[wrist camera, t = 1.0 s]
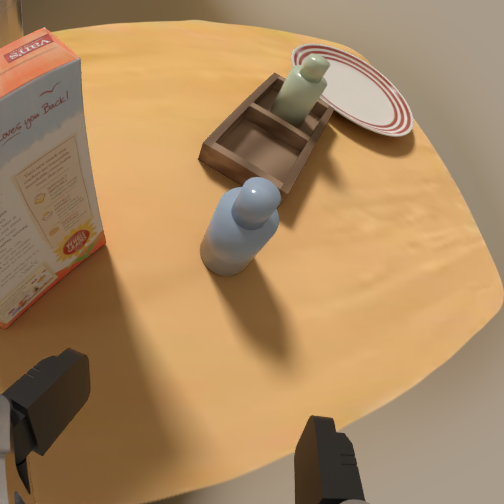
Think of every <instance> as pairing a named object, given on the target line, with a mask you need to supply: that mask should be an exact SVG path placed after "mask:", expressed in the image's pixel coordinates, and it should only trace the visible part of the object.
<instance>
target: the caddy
mask: <svg viewBox="0 0 504 504" xmlns="http://www.w3.org/2000/svg"><path fill="white" fill-rule="evenodd" d="M285 80H286V79H285V78H283V77H281V76H280V75H278V74H276V73H274V74H273V75H271V76H270V77H269V78H268V79H267V80H266V81H265V82H264V83H263V84H262V85H261V86H259V87H258V88H257V89H256V90H255V91H254V92H253V93H252V94H251V95H250V96H249V97H248V98H247V99H246V100H245V101H244V102H243V103H242V104H241V105H240V106H239V107H238V108H237V109H236V110H235V111H234V112H233V113H232V114H231V115H230V116H229V117H228V118H227V119H226V120H225V121H224V122H223V123H222V124H221V125H220V126H219V127H218V128H217V129H216V130H215V131H214V132H213V133H212V134H211V135H210V136H209V137H208V138H207V139H206V140H205V141H204V142H203V145H202V148H201V151H200V155H199V158H198V160H200V161H202V162H203V163H205V164H207V165H209V166H210V167H212V168H214V169H215V170H217V171H219V172H220V173H222V174H224V175H225V176H227V177H229V178H230V179H232V180H234V181H235V182H237V183H238V184H240V185H242V186H243V185H244V183H245V182H246V181H247V180H248V179H250V178H253V177H261V178H265V179H267V180H269V181H271V182H272V183H273V184H274V185H275V186H276V187H277V188H278V190H279V192H280V195H281V201H280V204H281V203H282V201H283V200H284V199H285V198H286V196H287V195H288V193H289V192H290V190H291V188H292V186H293V184H294V182H295V181H296V179H297V177H298V175H299V173H300V171H301V170H302V168H303V166H304V164H305V162H306V160H307V159H308V157H309V155H310V153H311V151H312V150H313V148H314V146H315V144H316V142H317V140H318V139H319V137H320V135H321V133H322V131H323V129H324V128H325V126H326V124H327V122H328V120H329V118H330V117H331V115H332V113H333V111H334V108H332V107H331V106H329V105H328V104H326V103H325V102H323V101H322V100H320V99H318V101H317V102H316V104H315V105H314V107H313V108H312V110H311V111H310V113H309V114H308V116H307V118H306V119H305V121H304V122H303V124H302V125H301V126H300V127H299V128H296V127H294V126H292V125H291V124H289V123H287V122H286V121H284V120H282V119H281V118H279V117H277V116H276V115H274V114H272V113H271V112H270V109H271V107H272V105H273V103H274V101H275V99H276V97H277V95H278V93H279V91H280V90H281V88H282V86H283V84H284V82H285ZM280 204H279V205H280ZM278 207H279V206H278ZM278 207H277V208H278Z"/></svg>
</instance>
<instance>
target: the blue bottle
mask: <svg viewBox="0 0 504 504" xmlns="http://www.w3.org/2000/svg"><path fill="white" fill-rule="evenodd" d="M280 201H281V195H280V192H279V190H278V188H277V187H276V186H275V185H274V184H273V183H272V182H271V181H269V180H267V179H265V178H261V177H253V178H250V179H248V180H247V181H246V182H245V183H244V185H243V187H237V188H233V189H231V190H229V191H227V192H226V193H225V194H224V195H223V196H222V197H221V199H220V201H219V203H218V206H217V208H216V210H215V212H214V215H213V217H212V219H211V221H210V224H209V226H208V228H207V231H206V233H205V235H204V238H203V240H202V242H201V246H200V255H201V259H202V261H203V263H204V264H205V266H206V267H207V268H208V269H209V270H211V271H212V272H214V273H215V274H218V275H221V276H233V275H236V274H238V273H240V272H241V271H242V270H243V269H244V268H245V267H246V266H247V265H248V264H249V263H250V261H251V260H252V259H253V258H254V257H255V256H256V254H257V253H258V252H259V251H260V250H261V249H262V248H263V246H264V245H265V244H266V243H267V242H268V241H269V239H270V238H271V237H272V236H273V235H274V234H275V232H276V230H277V228H278V225H279V215H278V211H277V209H276V208H277V207H278V206H279V204H280Z"/></svg>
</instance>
